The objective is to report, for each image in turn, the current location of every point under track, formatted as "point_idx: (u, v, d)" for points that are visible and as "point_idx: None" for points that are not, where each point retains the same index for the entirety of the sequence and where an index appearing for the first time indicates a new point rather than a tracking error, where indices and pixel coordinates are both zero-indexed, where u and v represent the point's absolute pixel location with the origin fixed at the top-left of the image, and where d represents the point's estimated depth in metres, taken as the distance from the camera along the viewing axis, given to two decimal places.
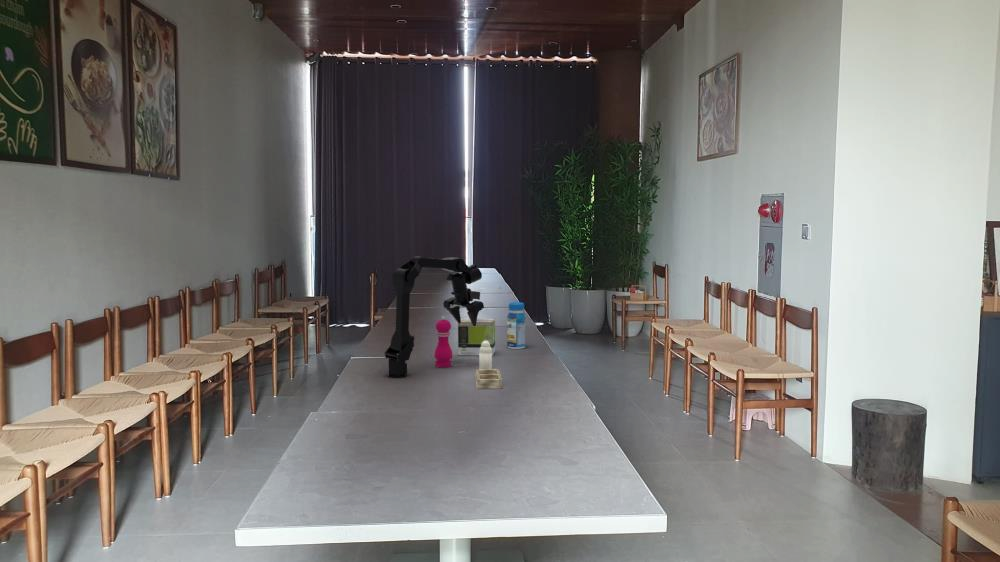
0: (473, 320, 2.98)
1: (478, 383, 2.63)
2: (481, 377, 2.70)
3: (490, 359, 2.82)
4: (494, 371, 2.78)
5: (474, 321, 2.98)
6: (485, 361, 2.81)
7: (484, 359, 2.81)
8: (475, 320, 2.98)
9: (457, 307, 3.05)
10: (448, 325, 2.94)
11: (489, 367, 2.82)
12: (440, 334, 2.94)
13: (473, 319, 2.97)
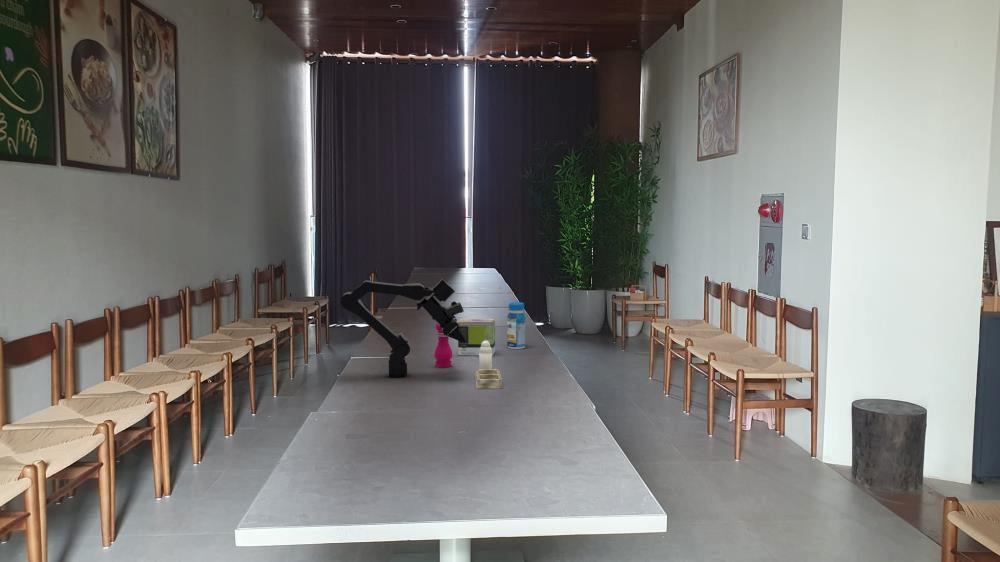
0: (458, 338, 2.76)
1: (478, 383, 2.63)
2: (481, 377, 2.70)
3: (490, 359, 2.82)
4: (494, 371, 2.78)
5: (460, 339, 2.77)
6: (485, 361, 2.81)
7: (484, 359, 2.81)
8: (461, 337, 2.76)
9: None
10: None
11: (489, 367, 2.82)
12: (440, 334, 2.94)
13: (457, 338, 2.76)
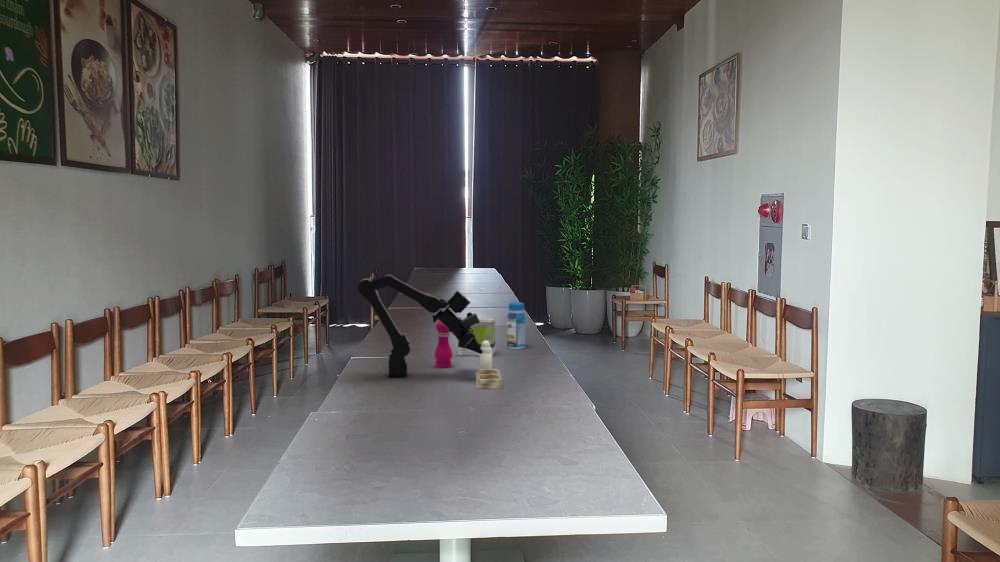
0: (475, 350, 2.77)
1: (478, 383, 2.63)
2: (481, 377, 2.70)
3: (490, 359, 2.82)
4: (494, 371, 2.78)
5: (477, 350, 2.77)
6: (485, 361, 2.81)
7: (484, 359, 2.81)
8: (478, 348, 2.77)
9: None
10: None
11: (489, 367, 2.82)
12: (440, 334, 2.94)
13: (474, 349, 2.77)
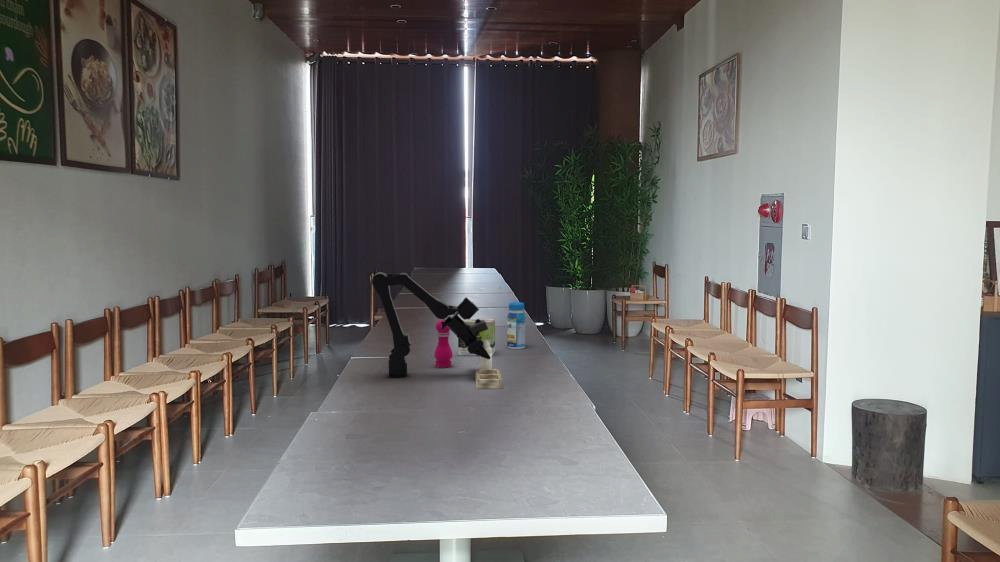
0: (483, 355, 2.79)
1: (478, 383, 2.63)
2: (481, 377, 2.70)
3: (490, 359, 2.82)
4: (494, 371, 2.78)
5: (485, 355, 2.80)
6: (485, 361, 2.81)
7: (484, 359, 2.81)
8: (485, 354, 2.80)
9: None
10: None
11: (489, 367, 2.82)
12: (440, 334, 2.94)
13: (482, 354, 2.79)
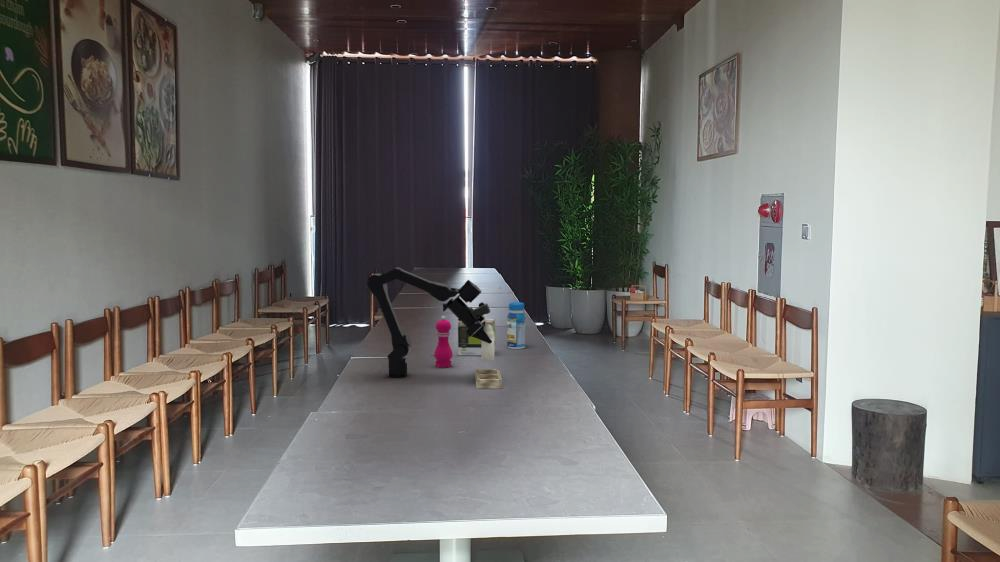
0: (483, 339, 2.74)
1: (478, 383, 2.63)
2: (481, 377, 2.70)
3: (492, 343, 2.76)
4: (494, 371, 2.78)
5: (486, 339, 2.74)
6: (486, 346, 2.75)
7: (485, 343, 2.75)
8: (486, 338, 2.74)
9: None
10: (448, 325, 2.94)
11: (491, 351, 2.76)
12: (440, 334, 2.94)
13: (482, 338, 2.74)
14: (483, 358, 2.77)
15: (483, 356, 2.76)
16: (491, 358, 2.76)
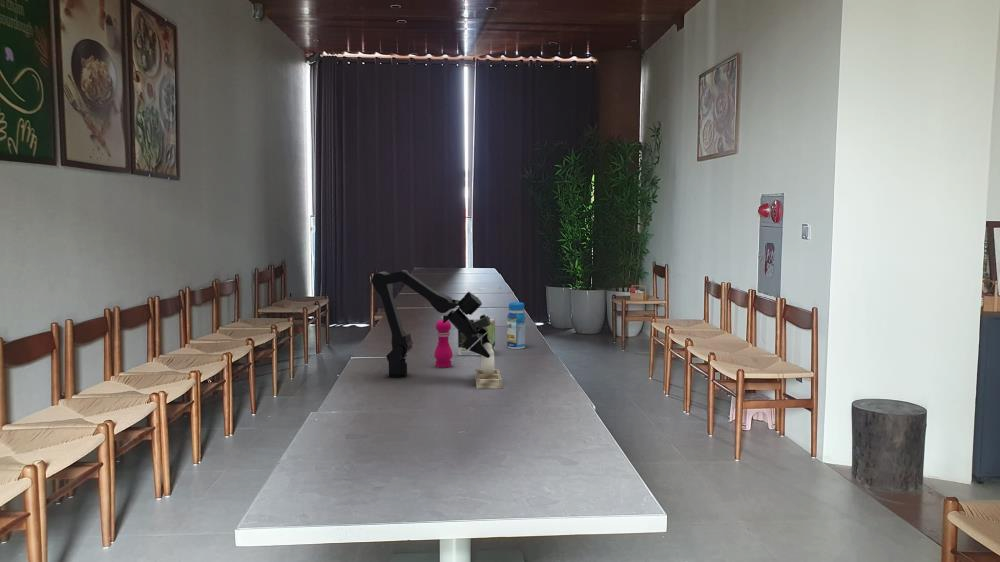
0: (481, 353, 2.68)
1: (478, 383, 2.63)
2: (481, 377, 2.70)
3: (491, 362, 2.72)
4: (494, 371, 2.78)
5: (484, 353, 2.68)
6: (485, 364, 2.72)
7: (484, 362, 2.72)
8: (484, 352, 2.68)
9: (484, 337, 2.79)
10: (448, 325, 2.94)
11: (490, 370, 2.72)
12: (440, 334, 2.94)
13: (480, 352, 2.68)
14: None
15: None
16: None
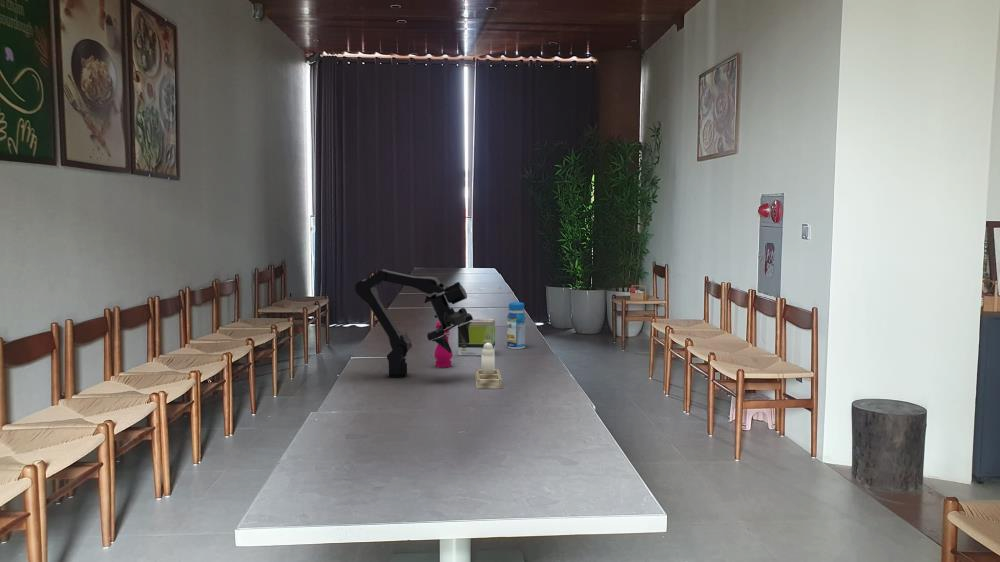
0: (444, 347, 2.73)
1: (478, 383, 2.63)
2: (481, 377, 2.70)
3: (491, 362, 2.72)
4: (494, 371, 2.78)
5: (446, 348, 2.73)
6: (486, 364, 2.72)
7: (485, 362, 2.72)
8: (446, 347, 2.73)
9: (463, 326, 2.79)
10: None
11: (490, 370, 2.72)
12: None
13: (443, 346, 2.73)
14: None
15: None
16: None
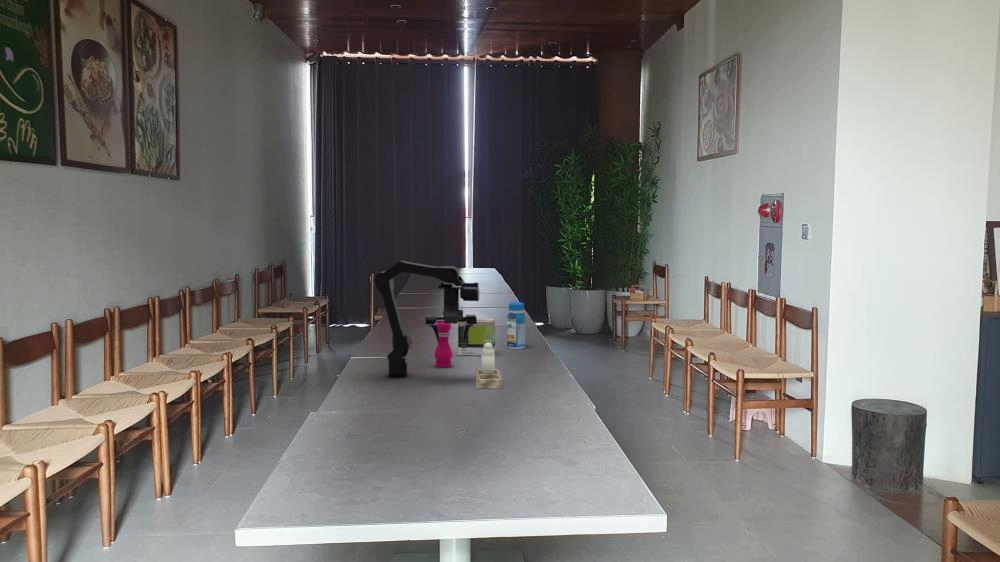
0: None
1: (478, 383, 2.63)
2: (481, 377, 2.70)
3: (491, 362, 2.72)
4: (494, 371, 2.78)
5: (436, 336, 2.77)
6: (486, 364, 2.72)
7: (485, 362, 2.72)
8: (436, 336, 2.77)
9: None
10: (448, 325, 2.94)
11: (490, 370, 2.72)
12: (440, 334, 2.94)
13: None
14: None
15: None
16: None
